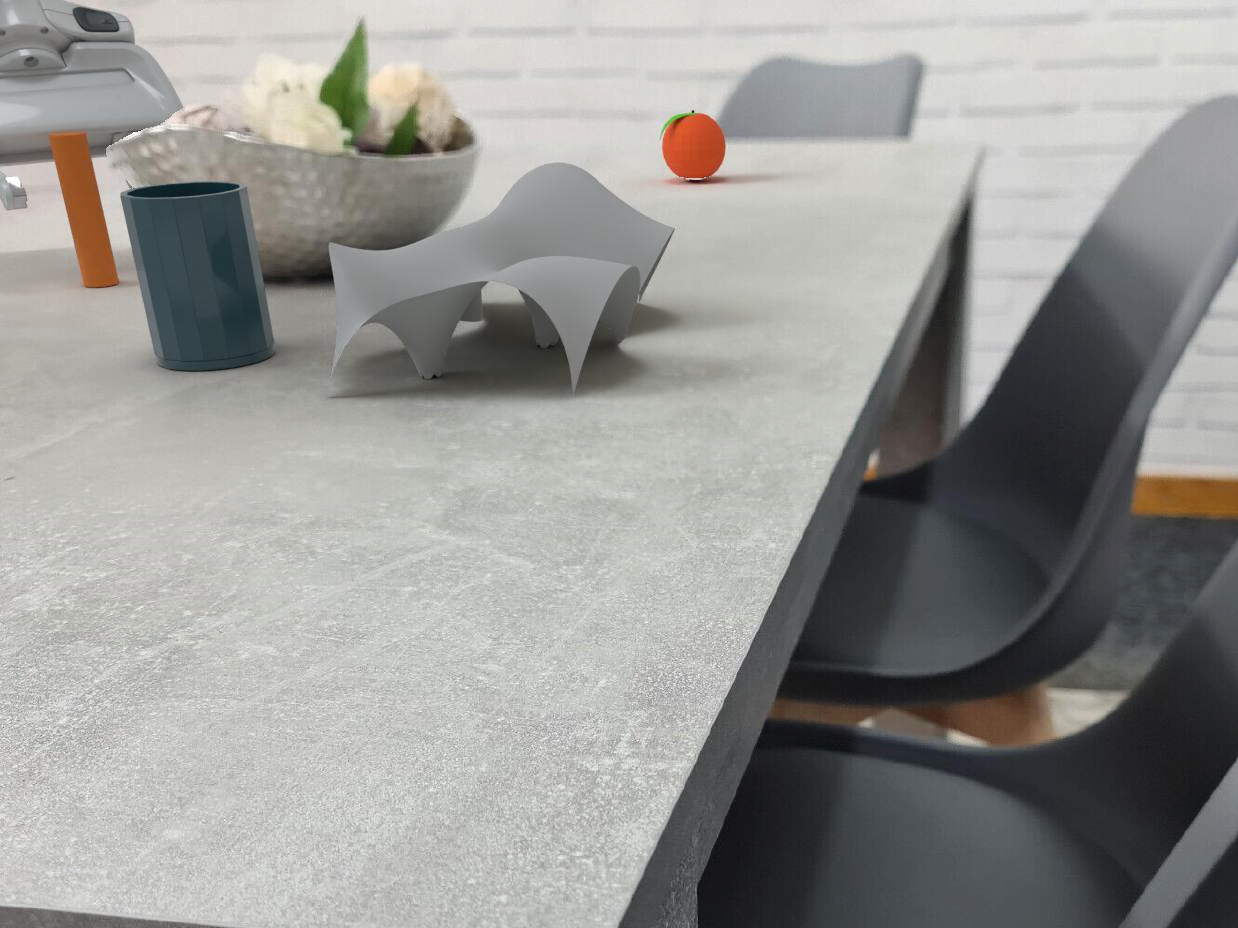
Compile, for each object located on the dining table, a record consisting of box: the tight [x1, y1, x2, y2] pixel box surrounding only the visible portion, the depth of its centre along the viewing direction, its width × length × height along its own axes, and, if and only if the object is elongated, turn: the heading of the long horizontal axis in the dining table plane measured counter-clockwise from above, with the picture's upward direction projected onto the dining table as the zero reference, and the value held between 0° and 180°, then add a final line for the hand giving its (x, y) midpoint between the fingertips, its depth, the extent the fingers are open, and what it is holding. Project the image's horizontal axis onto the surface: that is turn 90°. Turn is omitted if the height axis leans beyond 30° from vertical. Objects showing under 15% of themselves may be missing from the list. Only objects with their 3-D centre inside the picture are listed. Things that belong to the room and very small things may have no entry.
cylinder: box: [49, 132, 120, 288], centre depth 110 cm, size 3×3×11 cm
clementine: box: [659, 109, 727, 178], centre depth 155 cm, size 8×7×7 cm
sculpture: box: [327, 162, 676, 397], centre depth 90 cm, size 25×19×10 cm
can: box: [119, 180, 276, 372], centre depth 89 cm, size 7×7×10 cm
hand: (82, 197), depth 110 cm, fingers open, 8 cm apart
